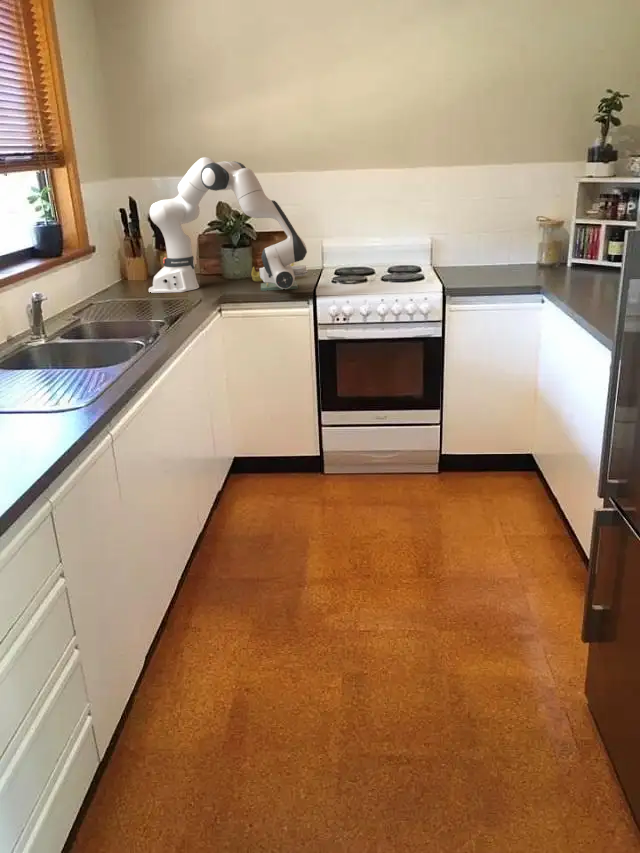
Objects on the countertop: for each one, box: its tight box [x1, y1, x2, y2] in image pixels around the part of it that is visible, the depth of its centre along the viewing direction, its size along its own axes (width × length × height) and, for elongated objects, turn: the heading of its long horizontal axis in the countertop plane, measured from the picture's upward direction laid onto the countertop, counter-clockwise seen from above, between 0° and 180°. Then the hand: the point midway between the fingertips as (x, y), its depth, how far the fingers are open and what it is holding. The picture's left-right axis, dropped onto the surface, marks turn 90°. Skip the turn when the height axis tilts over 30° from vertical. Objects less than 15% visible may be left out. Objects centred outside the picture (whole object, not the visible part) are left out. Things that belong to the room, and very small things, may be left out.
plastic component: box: [250, 262, 295, 282], centre depth 344 cm, size 20×7×10 cm
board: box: [260, 280, 299, 292], centre depth 323 cm, size 16×12×3 cm
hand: (282, 268), depth 321 cm, fingers open, 8 cm apart
